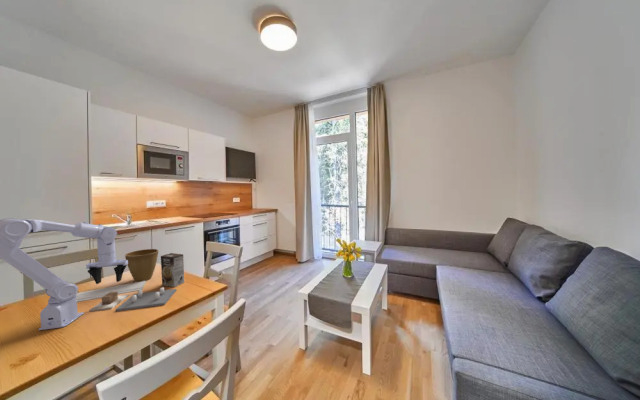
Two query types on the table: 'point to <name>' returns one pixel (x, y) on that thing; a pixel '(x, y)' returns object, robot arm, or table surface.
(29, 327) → the table surface
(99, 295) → the baseboard molding
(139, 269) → the plant pot
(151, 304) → the peg stand
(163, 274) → the coffee box
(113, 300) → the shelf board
